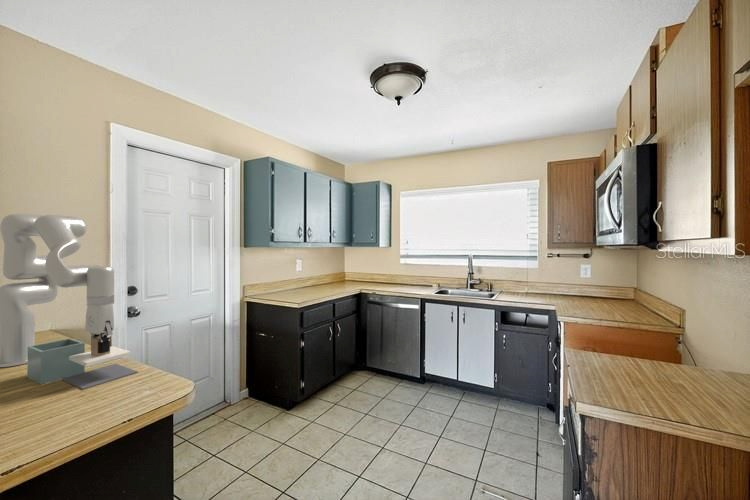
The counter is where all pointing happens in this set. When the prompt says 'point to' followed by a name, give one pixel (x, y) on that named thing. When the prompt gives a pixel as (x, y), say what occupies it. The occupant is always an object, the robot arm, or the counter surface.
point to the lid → (98, 355)
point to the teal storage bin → (54, 360)
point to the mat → (99, 376)
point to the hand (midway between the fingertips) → (100, 350)
